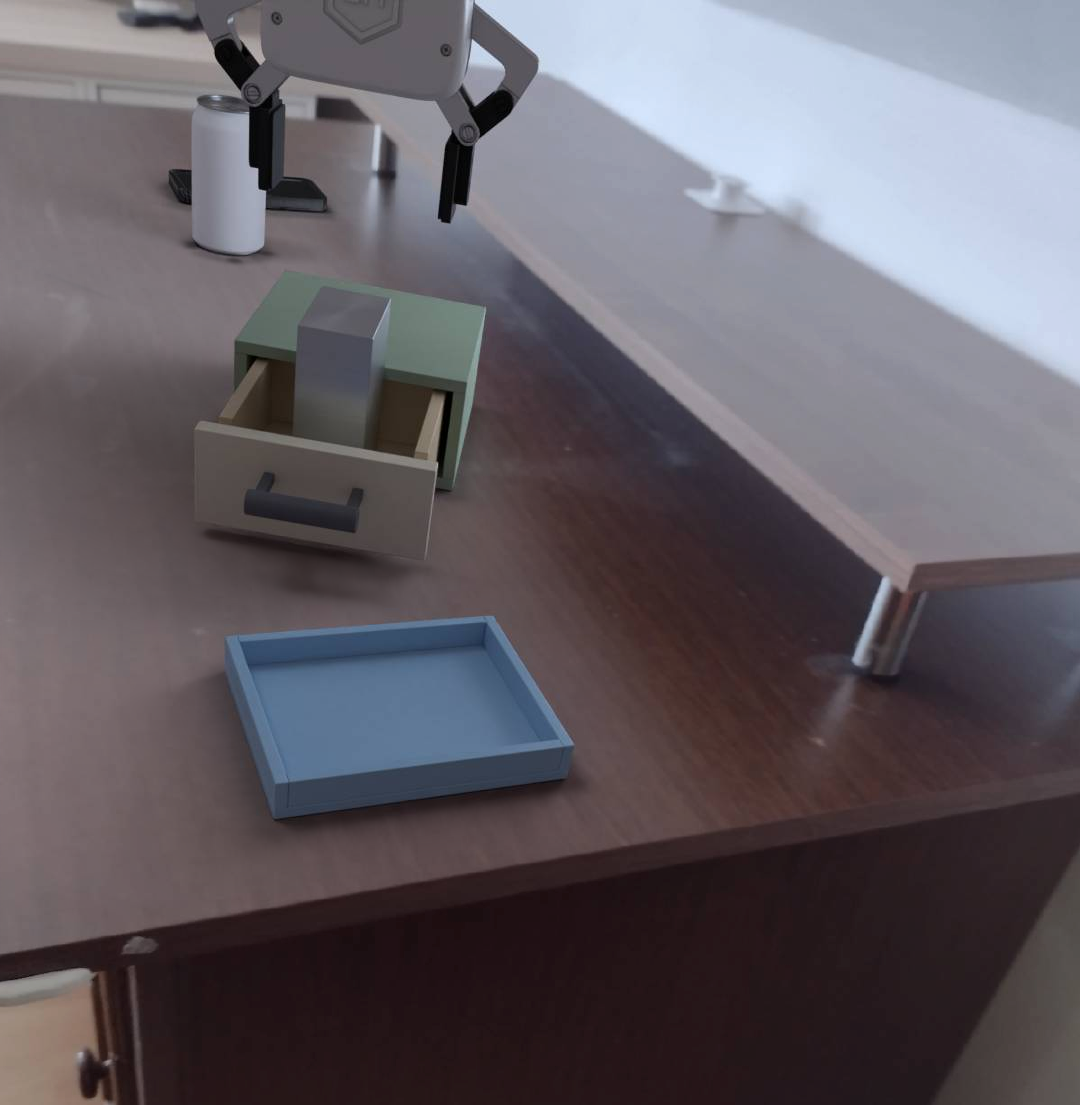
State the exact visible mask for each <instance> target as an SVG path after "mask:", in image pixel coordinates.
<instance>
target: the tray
mask: <svg viewBox="0 0 1080 1105" xmlns="http://www.w3.org/2000/svg"><path fill="white" fill-rule="evenodd" d="M224 673H225V675H226V678H227V681H228V684H229V688H230V690H231V691H230V692H231V694H232V697H233V700H234V703H235V706H236V709H237V712H238V715H239V718H240V721H241V724H242V727H243V730H244V733H245V736H246V739H247V743H248V746H249V749H250V752H251V755H252V757H253V761H254V764H255V766H256V770H257V774H258V776H259V779H260V782H261V785H262V788H263V791H264V794H265V797H266V801H267V803H268V806H269V810H270V813H271V815H272V818H273V820H279V819H286V818H293V817H294V818H295V817H300V816H301V817H302V816H308V815H315V814H323V813H331V812H337V811H344V810H351V809H358V808H364V807H365V808H367V807H371V806H380V805H386V804H393V803H401V802H408V801H415V800H422V799H429V798H437V797H442V796H450V795H456V794H464V793H471V792H472V793H473V792H479V791H484V790H485V791H486V790H487V791H488V790H493V789H500V788H508V787H515V786H522V785H528V784H534V783H542V782H549V781H555V780H556V781H557V780H565V779H568V776H569V775H568V774H569V772H570V771H569V770H570V767H571V763H572V758H573V754H574V749H575V743H574V742H573V740H572V738H571V737H570V735H569V734H568V732H567V731H566V729H565V728H564V726H563V724H562V723H561V721H560V720H559V718H558V717H557V715H556V714H555V712H554V711H553V709H552V707H551V705H550V704H549V702H548V701H547V699H546V698H545V696H544V694H543V693H542V691H541V689H540V688H539V686H538V685H537V683H536V682H535V680H534V678H533V677H532V675H531V674H530V672H529V671H528V669H527V667H526V666H525V664H524V662H523V661H522V660H521V658H520V657H519V655H518V653H517V652H516V650H515V648H514V647H513V645H512V643H511V642H510V641H509V639H508V637H507V636H506V634H505V632H504V631H503V630H502V627H501V626H500V625H499V623H498V622H497V620H496V618H495V617H494V616H493V615H478V616H477V615H476V616H466V617H464V616H463V617H454V618H440V619H428V620H427V619H425V620H415V621H413V620H412V621H401V622H389V623H387V622H386V623H376V624H363V625H351V626H338V627H325V628H312V629H301V630H300V629H299V630H287V631H275V632H273V631H272V632H260V633H250V634H249V633H247V634H238V635H226V636H225V637H224Z"/></svg>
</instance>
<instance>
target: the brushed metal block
mask: <svg viewBox="0 0 1080 1105" xmlns="http://www.w3.org/2000/svg"><path fill="white" fill-rule="evenodd" d="M390 306H391V299H390V298H385V297H380V296H375V295H369V294H364V293H359V292H353V291H348V290H342V289H337V288H332V287H326V286H321V288H320V290H319V291H318V293H317V294H316V296H315V298H314V299H313V301H312V303H311V304H310V306H309V307H308V309H307V311H306V312H305V314H304V316H303V317H302V319H301V320H300V322H299V324H298V328H297V348H296V369H295V390H294V411H293V432H292V437H297V438H303V439H309V440H314V441H320V442H325V443H331V444H337V445H342V446H348V447H354V448H359V449H365V450H371V451H376V452H377V444H378V433H379V422H380V412H381V401H382V391H383V380H384V370H385V359H386V348H387V338H388V327H389V317H390Z"/></svg>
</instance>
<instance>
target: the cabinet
mask: <svg viewBox="0 0 1080 1105" xmlns="http://www.w3.org/2000/svg"><path fill="white" fill-rule="evenodd" d="M321 286H326V287H332V288H337V289H342V290H348V291H353V292H359V293H364V294H369V295H375V296H380V297H385V298H390V299H391V306H390V317H389V327H388V338H387V348H386V359H385V370H384V379H386V380H391V381H397V382H402V383H408V384H413V385H419V386H424V387H430V388H435V389H441V390H446V391H447V399H446V407H445V414H444V422H443V430H442V438H441V445H440V453H439V458H438V469H437V477H436V485H435V489H440V490H445V491H450V492H451V491H454V486H455V481H456V478H457V473H458V469H459V464H460V460H461V455H462V452H463V447H464V444H465V443H464V442H465V439H466V434H467V431H468V426H469V421H470V417H471V412H472V408H473V403H474V395H475V388H476V381H477V376H478V375H477V374H478V367H479V361H480V355H481V354H480V353H481V348H482V347H481V346H482V339H483V332H484V326H485V318H486V312H487V307H486V306H482V305H476V304H471V303H465V302H460V301H454V300H449V299H445V298H439V297H433V296H429V295H422V294H417V293H412V292H407V291H402V290H395V289H390V288H384V287H379V286H374V285H370V284H363V283H358V282H353V281H348V280H343V279H337V278H332V277H326V276H320V275H315V274H309V273H305V272H300V271H292V270H289V269H285V270H284V271H283V272H282V274H281V275H280V276H279V278H278V279H277V281H276V282H275V283H274V284H273V286H272V288H271V289H270V290H269V292H268V293H267V295H265V297H264V298H263V300H262V301H261V303H260V304H259V305H258V307H257V309H255V311H254V312H253V314H252V315H251V316H250V318H249V320H248V321H247V322H246V323H245V325H244V326H243V328H242V329H241V331H240V332H239V333H238V335H237V336H236V337H235V339H234V341H233V342H234V346H233V347H234V348H233V350H234V353H233V354H234V355H233V356H234V357H233V394H234V393H235V391H236V390H237V388H238V387H239V385H240V384H241V382H242V380H243V379H244V377H245V376H246V374H247V373H248V371H249V370H250V368H251V367H252V365H253V364H254V362H255V361H256V359H257V358H258V356H259V357H265V358H270V359H276V360H281V361H287V362H292V363H296V348H297V328H298V324H299V322H300V320H301V319H302V317H303V316H304V314H305V312H306V311H307V309H308V307H309V306H310V304H311V303H312V301H313V299H314V298H315V296H316V294H317V293H318V291H319V290H320V288H321Z"/></svg>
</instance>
